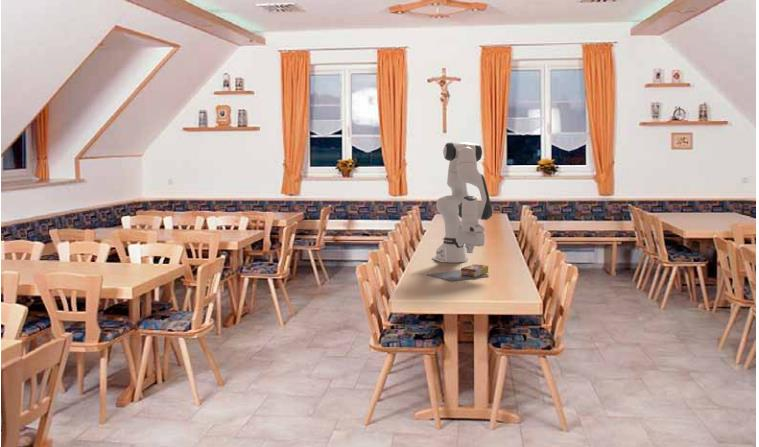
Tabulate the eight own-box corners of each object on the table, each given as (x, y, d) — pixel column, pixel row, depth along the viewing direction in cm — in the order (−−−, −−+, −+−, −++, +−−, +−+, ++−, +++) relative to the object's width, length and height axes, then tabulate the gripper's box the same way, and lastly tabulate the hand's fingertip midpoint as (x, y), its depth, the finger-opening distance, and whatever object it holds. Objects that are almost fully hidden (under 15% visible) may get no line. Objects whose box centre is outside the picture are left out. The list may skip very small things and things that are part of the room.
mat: (426, 275, 413) (426, 274, 412) (462, 270, 425) (462, 269, 425) (451, 281, 394) (451, 280, 394) (488, 276, 406) (488, 275, 406)
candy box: (473, 271, 419) (460, 275, 407) (473, 264, 419) (460, 267, 406) (488, 273, 414) (475, 277, 402) (488, 265, 414) (475, 269, 401)
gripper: (453, 225, 418) (453, 251, 419) (477, 229, 400) (476, 255, 402) (462, 224, 421) (462, 250, 423) (486, 228, 404) (486, 254, 405)
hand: (469, 252), depth 412 cm, fingers closed
